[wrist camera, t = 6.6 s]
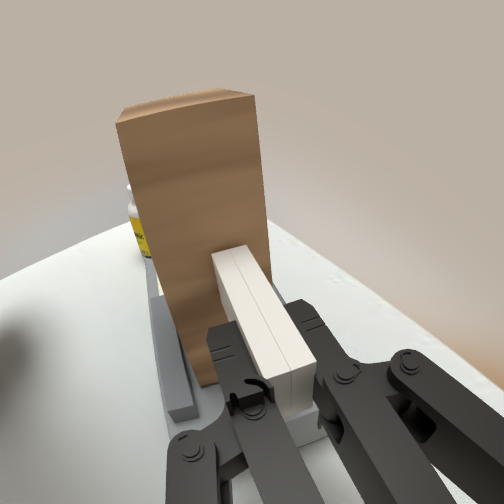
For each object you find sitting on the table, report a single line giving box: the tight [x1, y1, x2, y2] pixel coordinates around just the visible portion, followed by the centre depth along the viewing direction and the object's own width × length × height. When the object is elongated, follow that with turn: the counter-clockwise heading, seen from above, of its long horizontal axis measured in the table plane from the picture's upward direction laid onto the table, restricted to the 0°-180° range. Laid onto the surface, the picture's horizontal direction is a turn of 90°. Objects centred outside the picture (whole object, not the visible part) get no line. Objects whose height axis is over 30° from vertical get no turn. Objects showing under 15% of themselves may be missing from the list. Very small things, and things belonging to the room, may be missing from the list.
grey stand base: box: [145, 259, 328, 448], centre depth 25 cm, size 20×10×6 cm, turn 18°
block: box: [115, 88, 273, 387], centre depth 17 cm, size 6×5×15 cm
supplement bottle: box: [127, 184, 152, 260], centre depth 39 cm, size 5×5×10 cm
